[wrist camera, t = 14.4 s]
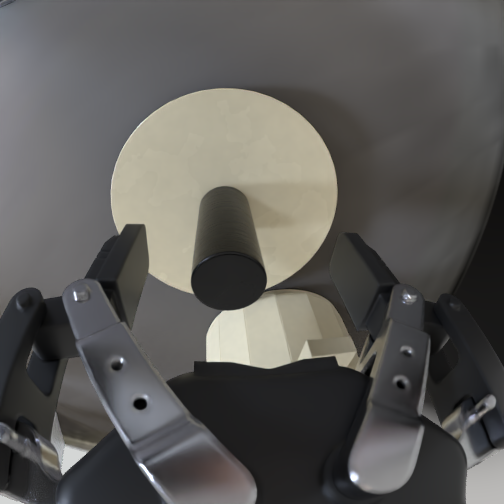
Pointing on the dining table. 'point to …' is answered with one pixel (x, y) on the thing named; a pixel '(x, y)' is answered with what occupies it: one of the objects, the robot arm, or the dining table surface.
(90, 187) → the dining table surface
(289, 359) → the pot
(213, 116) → the lid
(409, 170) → the dining table surface
